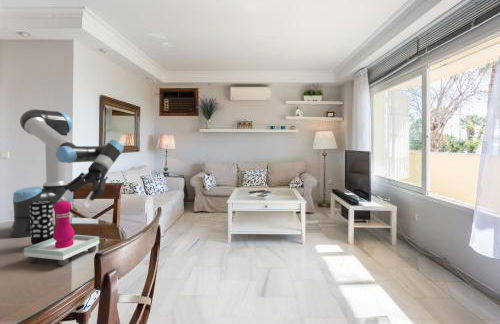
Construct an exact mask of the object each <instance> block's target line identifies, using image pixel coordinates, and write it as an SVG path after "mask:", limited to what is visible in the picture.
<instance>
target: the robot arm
mask: <svg viewBox="0 0 500 324" xmlns="http://www.w3.org/2000/svg"><path fill="white" fill-rule="evenodd" d="M19 124H20V126H21V128H22V130H24V131H25V132H26V133H27V134H29V135H33V136H35V137H36V138H37V139H39V140H40V141H41V142H42V143H44V144H45V179H46V180H45V182H44V183H43V184H42V187H41V186H31V187H25V188H21V189H18V190H16V191H14V193H13V195H12V196H13V197H12V204H13V223H12V226H11V229H10V230H9V231H10V232H9V233H10V234H9V235H10V237H11V236H12V238H25V237H26V238H27V237H31V227H30V203H32V202H37V201H53V209H54V205H55V204H56V203H57V202H59V201H60V198H61V197H64V198H65V200H64V201H68V202H69V203H70V204H71V203H72V201H73V198H74V192H75V191H76V190H78V189H80V188H82V187H83V186H84V185H89V184H91V185H92V188H93V189H92V191H90V192H89V194H88V195H87V196H86V197H85V199H84V201H83V202H82V206H83V207H85V209H88V208H89V207H90V205H91V204H92V202H93V201H94V200H96V197H97V196H99V195H100V194H101V195H103V194H104V192H105V186H106V184H107V183H106V182H107V180H108V175H107V174H108V173H109V172H108V171H109V170H110V169H111V167H112V166H113V165H114V163H115V162H116V161H117V159H118V158H119V156H120V155H122V152H123V151H124V149H125V148H124V147H125V146H124V145H123V143H122V142H121V141H120V140H118V139H110V140H109V141H108V142H107V144H102V145H96V146H95V145H93V146H92V145H90V146H88V145H87V146H86V145H85V146H83V145H79V146H78V145H75V144H74V143H72V142H71V141H70V140H68V139H67V137H68V134H70V133H71V132H72V129H73V121H72V119H71V117H70V116H69V115H68V114H67V113H65V112H61V111H54V110H43V109H35V108H34V109H29V110H26V112H25V111H24V112H23V114H22V115H21V116H20V119H19ZM87 162H91V164H90V165H89V167H88V171H87V172H86V173H84V172H81V173H80V174H79V175H78V176H77V177H75V178H73V180H71V181H70V182H67V181H66V176H65V175H66V173H65V172H66V171H65V169H66V168H65V167H66V166H65V165H66V164H71V163H87ZM65 163H66V164H65Z"/></svg>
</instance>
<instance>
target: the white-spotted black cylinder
mask: <svg viewBox="0 0 500 324" xmlns="http://www.w3.org/2000/svg"><path fill="white" fill-rule="evenodd" d="M30 227H31V236H30V246H32V245H35V244H38V243H40V242H43V241H46V240H49V239H52V238H53V234H54V231H55V229H54V208H53V201H37V202H32V203H30Z"/></svg>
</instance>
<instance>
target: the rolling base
mask: <svg viewBox="0 0 500 324" xmlns="http://www.w3.org/2000/svg"><path fill="white" fill-rule="evenodd" d="M72 239H73V242H74V244H73V245H71V246H69V247H65V248H56V247H55V242H57V241H56V240H54V238H52V239H49V240H46V241H43V242H40V243H38V244H35V245H32V246H31V245H29V246H27V247H24V248H23V256H24V257H28V258H27V261H28V262H29V263H37V262H38V261H39V259H49V260H56V261H58V262H57V264H58V265H59V266H61V267H66V265H68V264H69V259H70V258H71V257H73V256H75V255H78V254H79V253H82V252H84V251H86V250H87V251H88V252H89V253H95V251H96V250H97V245H99V244H100V236H97V235H95V236H94V235H84V234H83V235H82V234H74V236H73V238H72Z"/></svg>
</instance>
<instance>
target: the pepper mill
mask: <svg viewBox="0 0 500 324" xmlns="http://www.w3.org/2000/svg"><path fill="white" fill-rule="evenodd" d="M64 200H65V198H64V197H61V198H60V201H59V202H57V203H56V204H55V205H54V208H53V212H55V218H56V220H57V221H56V227H55V229H54V234H53V238H54V240H56V241H57V242H55V247H56V248H65V247H69V246H71V245H73V244H74V242H73V239H72V238H73V236H74V235H75V230H74V228H73V226H72V224H71V221H70V216H71V212H70V211H71V210H72V203H71V202H70V203H69V202H68V201H64Z"/></svg>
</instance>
